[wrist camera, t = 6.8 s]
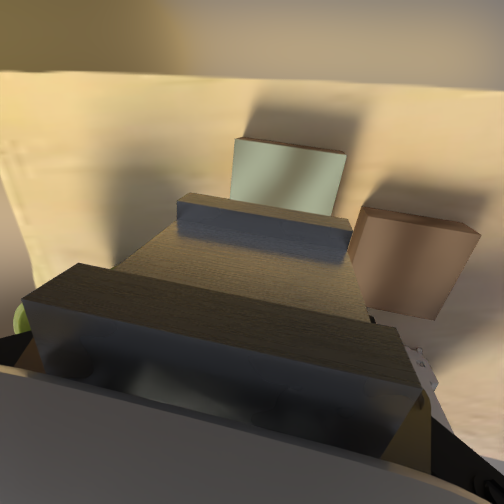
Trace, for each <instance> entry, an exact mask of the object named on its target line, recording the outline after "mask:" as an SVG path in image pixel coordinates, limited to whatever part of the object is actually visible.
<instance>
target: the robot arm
mask: <svg viewBox="0 0 504 504" xmlns="http://www.w3.org/2000/svg"><path fill="white" fill-rule="evenodd" d="M369 318H370V321H371V323H374V324H376V322H375V320H374V318H373V317H372V316H370V315H369ZM0 504H504V476H503V475H502V474H501V473H500V472H499V471H497V470H496V469H495V468H494V467H493V466H491V465H490V464H489V463H488V462H486V461H485V460H484V459H483V458H482V457H480V456H479V455H478V454H477V453H476V452H474V451H473V450H472V449H471V448H470V447H468V446H467V445H466V444H465V443H464V442H462V441H461V440H460V439H459V438H458V437H456V436H455V435H454V434H453V433H452V432H450V431H449V430H448V429H447V428H446V427H444V426H443V425H442V424H441V423H440V422H438V421H437V420H436V419H435V418H434V417H432V416H431V403H430V398H429V397H428V395H427V393H426V391H425V390H424V389H423V390H422V392H421V393H420V395H419V397H418V398H417V400H416V401H415V403H414V405H413V406H412V408H411V409H410V411H409V413H408V414H407V416H406V417H405V419H404V421H403V422H402V424H401V426H400V427H399V429H398V430H397V432H396V434H395V435H394V437H393V438H392V440H391V442H390V443H389V445H388V446H387V448H386V450H385V451H384V453H383V454H382V456H381V458H380V459H377V458H374V457H370V456H366V455H363V454H359V453H356V452H352V451H348V450H345V449H341V448H338V447H334V446H330V445H326V444H322V443H318V442H314V441H311V440H307V439H303V438H299V437H295V436H291V435H287V434H284V433H280V432H276V431H272V430H268V429H264V428H260V427H257V426H253V425H249V424H245V423H241V422H237V421H233V420H229V419H225V418H221V417H217V416H213V415H209V414H206V413H202V412H198V411H194V410H190V409H186V408H182V407H178V406H174V405H170V404H166V403H162V402H158V401H154V400H150V399H146V398H142V397H138V396H134V395H130V394H126V393H122V392H118V391H114V390H110V389H106V388H102V387H97V386H93V385H89V384H85V383H81V382H77V381H73V380H69V379H65V378H60V377H56V376H52V375H47V374H46V372H45V369H44V366H43V363H42V360H41V357H40V354H39V351H38V348H37V345H36V342H35V340H34V337H33V334H32V331H31V330H30V331H27V332H23V333H19V334H15V335H12V336H8V337H4V338H0Z"/></svg>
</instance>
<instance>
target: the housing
mask: <svg viewBox="0 0 504 504" xmlns="http://www.w3.org/2000/svg"><path fill="white" fill-rule="evenodd" d="M352 233H353V230H352V227H351V225H350V223H349V221H348V219H344V218H338V217H332V216H326V215H320V214H314V213H309V212H303V211H297V210H291V209H285V208H279V207H273V206H267V205H261V204H255V203H249V202H243V201H237V200H232V199H226V198H220V197H214V196H208V195H202V194H196V193H188V194H187V195H185V196H184V197H182V198H180V199H179V200H177V220H176V221H175V222H173V223H172V224H171V225H170V226H168V227H167V228H166V229H164V230H163V231H162V232H161V233H159V234H158V235H157V236H155V237H154V238H153V239H152V240H150V241H149V242H148V243H146V244H145V245H144V246H143V247H141V248H140V249H139V250H137V251H136V252H135V253H134V254H132V255H131V256H130V257H128V258H127V259H126V260H125V261H123V262H122V263H121V264H119V265H118V266H117V267H116V268H114V269H113V270H111V269H106V268H101V267H96V266H91V265H87V264H82V263H77V264H75V265H74V266H72V267H71V268H69V269H68V270H66V271H64V272H63V273H61V274H60V275H58V276H56V277H55V278H53V279H52V280H50V281H48V282H47V283H45V284H44V285H42V286H41V287H39V288H37V289H36V290H34V291H33V292H31V293H29V294H28V295H26V296H25V297H23V298H21V301H22V304H23V307H24V310H25V313H26V316H27V319H28V322H29V325H30V328H31V331H32V334H33V337H34V340H35V342H36V345H37V348H38V351H39V354H40V357H41V360H42V363H43V366H44V369H45V372H46V374H47V375H52V376H56V377H60V378H65V379H69V380H73V381H77V382H81V383H85V384H89V385H93V386H97V387H102V388H106V389H110V390H114V391H118V392H122V393H126V394H130V395H134V396H138V397H142V398H146V399H150V400H154V401H158V402H162V403H166V404H170V405H174V406H178V407H182V408H186V409H190V410H194V411H198V412H202V413H206V414H209V415H213V416H217V417H221V418H225V419H229V420H233V421H237V422H241V423H245V424H249V425H253V426H257V427H260V428H264V429H268V430H272V431H276V432H280V433H284V434H287V435H291V436H295V437H299V438H303V439H307V440H311V441H314V442H318V443H322V444H326V445H330V446H334V447H338V448H341V449H345V450H348V451H352V452H356V453H359V454H363V455H366V456H370V457H374V458H377V459H380V458H381V456H382V454H383V453H384V451H385V450H386V448H387V446H388V445H389V443H390V442H391V440H392V438H393V437H394V435H395V434H396V432H397V430H398V429H399V427H400V426H401V424H402V422H403V421H404V419H405V417H406V416H407V414H408V413H409V411H410V409H411V408H412V406H413V405H414V403H415V401H416V400H417V398H418V397H419V395H420V393H421V392H422V390H423V388H422V386H421V383H420V381H419V379H418V377H417V374H416V372H415V370H414V368H413V365H412V363H411V361H410V359H409V356H408V354H407V352H406V350H405V347H404V345H403V343H402V340H401V338H400V336H399V334H398V331H397V329H396V328H394V327H389V326H384V325H379V324H374V323H371V321H370V318H369V315H368V312H367V309H366V306H365V303H364V300H363V297H362V294H361V291H360V288H359V285H358V282H357V279H356V276H355V273H354V270H353V267H352V264H351V261H350V258H349V254H348V251H347V249H348V246H349V243H350V240H351V236H352Z"/></svg>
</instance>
